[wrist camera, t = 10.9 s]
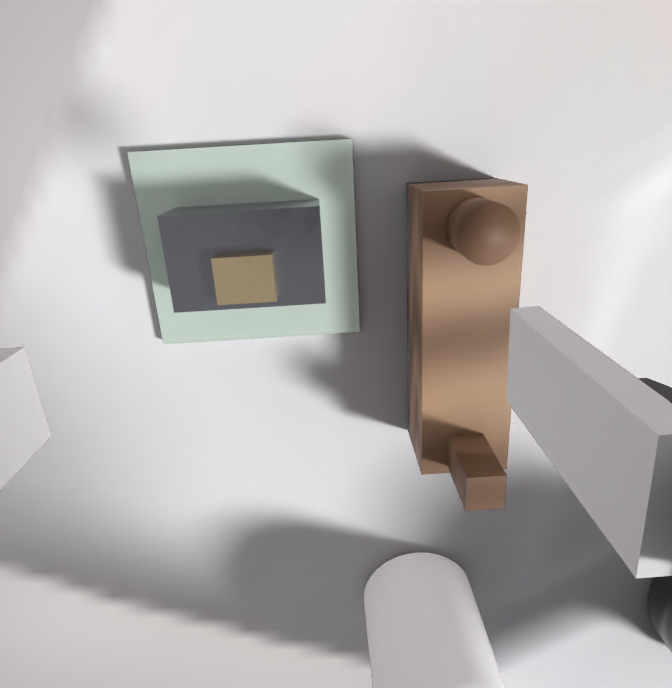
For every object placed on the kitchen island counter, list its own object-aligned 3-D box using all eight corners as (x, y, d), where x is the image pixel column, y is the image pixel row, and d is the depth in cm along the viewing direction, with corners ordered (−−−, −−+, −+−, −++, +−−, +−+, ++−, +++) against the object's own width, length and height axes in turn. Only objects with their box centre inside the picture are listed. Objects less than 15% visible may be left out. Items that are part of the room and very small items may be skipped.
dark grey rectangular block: (324, 286, 31) (326, 307, 27) (189, 294, 31) (170, 317, 27) (319, 198, 29) (319, 207, 25) (175, 207, 29) (152, 218, 25)
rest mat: (359, 328, 33) (359, 331, 32) (166, 340, 32) (163, 344, 32) (351, 138, 29) (351, 138, 28) (130, 151, 28) (127, 152, 28)
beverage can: (346, 610, 41) (357, 786, 30) (389, 533, 38) (419, 694, 27) (438, 636, 42) (481, 814, 31) (486, 563, 40) (551, 729, 29)
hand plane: (481, 425, 35) (532, 514, 27) (407, 430, 35) (435, 520, 27) (494, 177, 30) (564, 192, 21) (406, 183, 29) (441, 200, 21)
